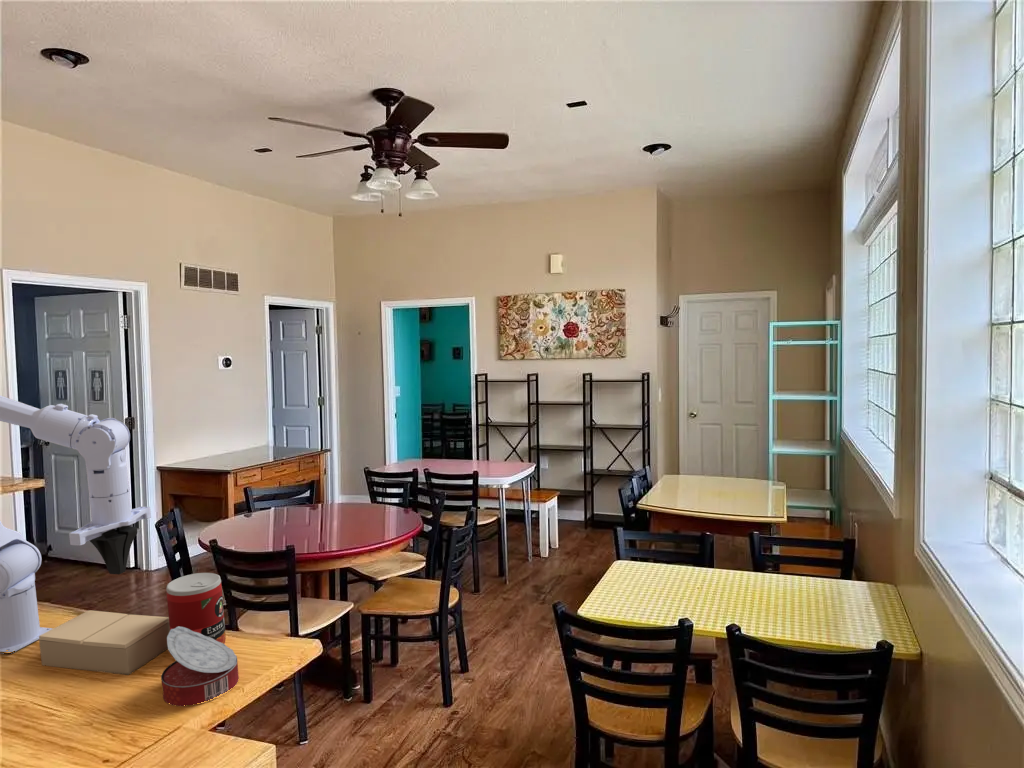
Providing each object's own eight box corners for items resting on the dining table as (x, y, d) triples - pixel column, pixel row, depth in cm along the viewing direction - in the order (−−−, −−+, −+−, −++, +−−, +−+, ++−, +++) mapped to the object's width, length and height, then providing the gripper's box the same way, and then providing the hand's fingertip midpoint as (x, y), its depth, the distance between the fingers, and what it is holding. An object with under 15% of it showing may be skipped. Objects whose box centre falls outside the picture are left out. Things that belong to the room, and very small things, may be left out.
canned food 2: (201, 699, 100) (218, 629, 103) (246, 709, 95) (263, 635, 98) (130, 700, 91) (152, 623, 94) (176, 711, 86) (197, 630, 89)
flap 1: (39, 639, 102) (39, 635, 102) (89, 613, 110) (89, 610, 110) (80, 644, 100) (80, 640, 100) (128, 617, 109) (127, 614, 108)
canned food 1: (213, 660, 102) (207, 591, 101) (161, 661, 102) (155, 592, 101) (235, 635, 110) (229, 571, 108) (187, 637, 110) (181, 572, 109)
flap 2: (170, 620, 107) (169, 617, 107) (125, 648, 98) (125, 644, 98) (130, 618, 108) (129, 614, 108) (82, 644, 100) (82, 641, 100)
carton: (41, 665, 102) (39, 640, 102) (91, 637, 111) (89, 614, 110) (128, 675, 98) (126, 649, 98) (173, 645, 107) (170, 621, 107)
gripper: (92, 506, 102) (101, 592, 103) (162, 482, 116) (169, 558, 117) (55, 505, 103) (64, 589, 105) (128, 481, 117) (136, 555, 119)
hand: (117, 572), depth 111 cm, fingers closed
